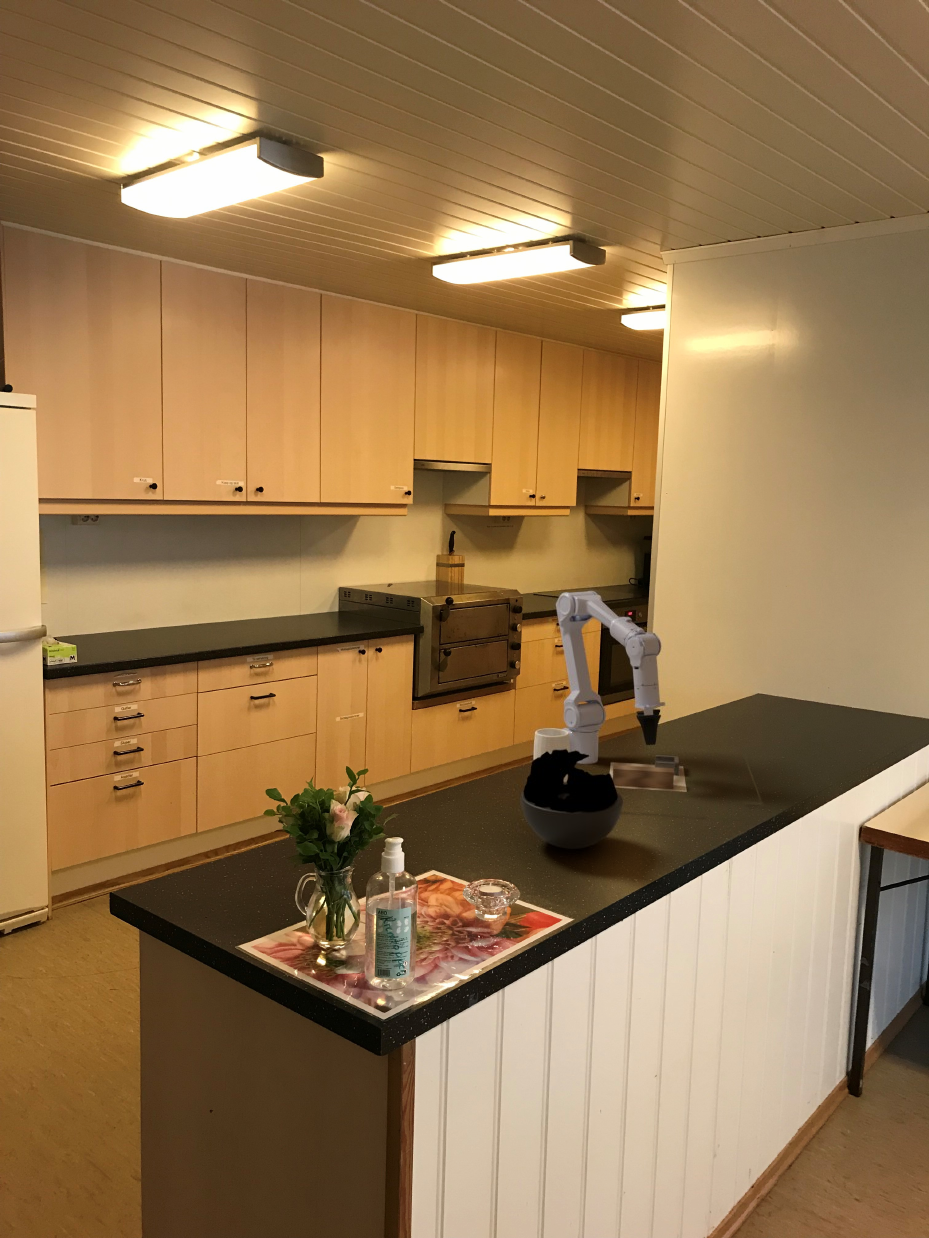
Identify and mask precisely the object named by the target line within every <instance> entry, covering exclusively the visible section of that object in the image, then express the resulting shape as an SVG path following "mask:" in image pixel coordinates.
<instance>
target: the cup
mask: <svg viewBox="0 0 929 1238" xmlns="http://www.w3.org/2000/svg"><path fill="white" fill-rule="evenodd" d="M563 749H567V750H568V752H570V740H569V732H568V731H566V730H563V728H553V727H552V728H551V727H550V728H549V727H547V728H540V729H537V730H536V731H535V732H534V742H533V760H535V759H536V758H538V757H540V756H541V755H542V754H544V753H545V752H549V753H550V754H551V753H552V751H553V750H563ZM567 779H568V774H567V775H566V776H565V778H564V782H567Z"/></svg>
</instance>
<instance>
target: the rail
mask: <svg viewBox="0 0 929 1238" xmlns="http://www.w3.org/2000/svg"><path fill="white" fill-rule="evenodd" d="M613 782H614V785H615V786H630V787H647V788H663V789H673V782H674V769H673V768H658V767H641V766H623V765H613Z"/></svg>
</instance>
